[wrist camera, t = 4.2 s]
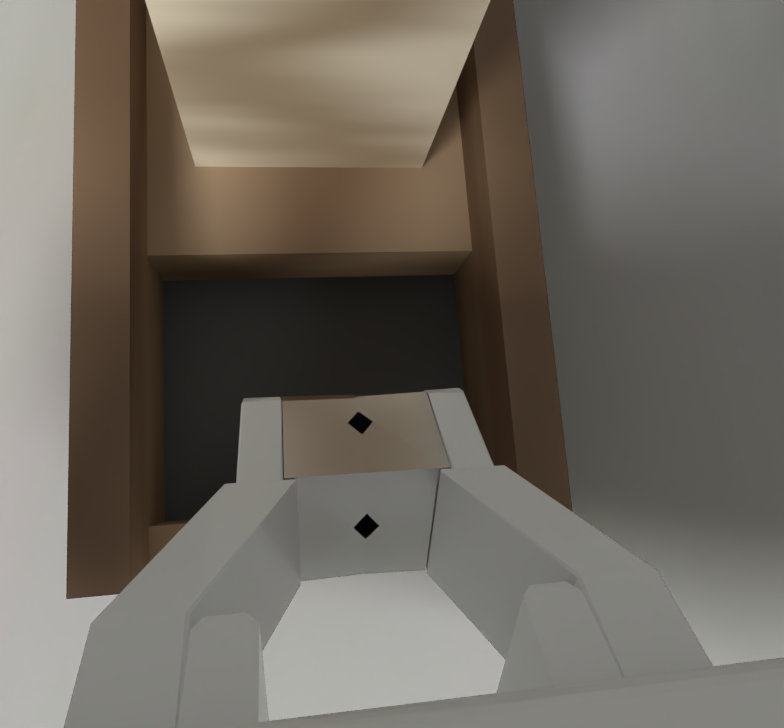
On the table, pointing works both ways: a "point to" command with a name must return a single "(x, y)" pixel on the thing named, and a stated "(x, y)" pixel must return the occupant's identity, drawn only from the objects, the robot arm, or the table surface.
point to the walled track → (285, 290)
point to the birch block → (313, 77)
